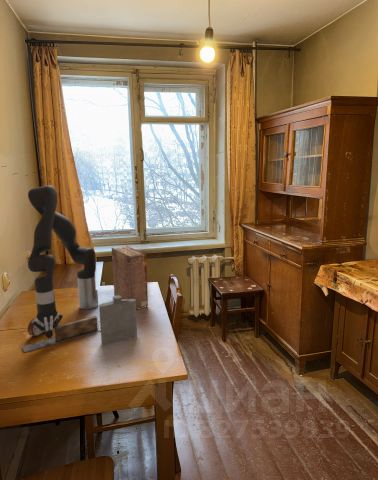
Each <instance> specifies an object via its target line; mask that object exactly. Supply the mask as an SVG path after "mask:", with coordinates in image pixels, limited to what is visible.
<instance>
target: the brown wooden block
mask: <svg viewBox="0 0 378 480" xmlns="http://www.w3.org/2000/svg"><path fill="white" fill-rule="evenodd" d="M98 326H99V325H98V317H97V316H96V315H93V316H90V317H89V316H88V317H86V318H82V319H77V320H74V321H70V322H66V323H62V324H60V323H59V324H58V325H57V327H56V328H54V335H55V337H54V338H56V339H57V341H61V340H63V339H64V338H68V337H72V336H75V335H79V334H82V333H86V332H89V331H93V330H97V329H98Z"/></svg>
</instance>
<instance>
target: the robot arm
mask: <svg viewBox="0 0 378 480" xmlns="http://www.w3.org/2000/svg"><path fill="white" fill-rule="evenodd" d="M27 196H28V197H27V198H28V200H29V203H30V205H31V206H32V207H33V208H34V209H35V211H37V212H38V214H39V215H40V216H41V218H40V219H39V220H38V222H37V224H36V226H35V229H34V232H33V233H34V234H33V246H32V249H31V252H30V255H29V258H28V261H27V268H28V270H29V271H31V272H32V273H39V272H46V274H44V275H40V276H37V277H36V278H35V280H34V288H35V303H36V304H35V305H36V311H37V312H36V313H37V314H36V316H35V317H37V318H36V319H35V320H32V319H31V320H32V323H33V324H34V325H35V326H36V327H37V328H39V329H40V330H41V331H45V332H44V333H45V337H46V338H47V340H48V339H52V338H53V336H54V329H55V328H56V327H57V325H58V324H59V325H60V322H61V321H62V318H64V316H63V314H62V313H59V312H58V311H57V304H56V296H55V291H54V281H53V279H54V272H55V267H56V258H55V256H54V255H53V254H49V253H48V254H42V253H44V252H47V251H50V250H51V248H52V237H53V236H52V235H53V232H54V234H55V235H56V236H57V238H58V239H59V240H60V241H61V243H62V244H63V246H64V247H65V249H66V250H67V252H68V254H69V255H70V257H71V259H72V261H73V262H74V263H75V264H77V265H83V269H81V270H79V271H77V273H76V278H77V289H78V291H77V292H78V302H79V303H78V304H79V308H80V309H81V310H91V309H95V308H97V307H99V294H98V289H97V286H96V285H97V284H96V283H97V282H96V270H97V267H96V266H97V265H96V264H97V261H96V260H97V259H96V257H97V256H96V251H95V250H94V248H92V247H83V246H80V244H79V243H78V242H77V240H76V239H77V238H76V237H77V230H76V228H75V226H74V225H73V223H72V221H71V219H70V218H68V217H66V216H65V215H63V214H61V213H59V212H57V211H56V210H57V205H58V192H57V190H56V188H55V187H54V186H53V185H51V184H50V185H48V184H47V185H43V186H38V187H33V188H31V189H29V190H28V193H27ZM38 320H39V321H41V322H42V323H43V324H44V327H42V326H41V325H40V324H39V321H38ZM53 321H54V323H53ZM48 328H49V329H48Z"/></svg>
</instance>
